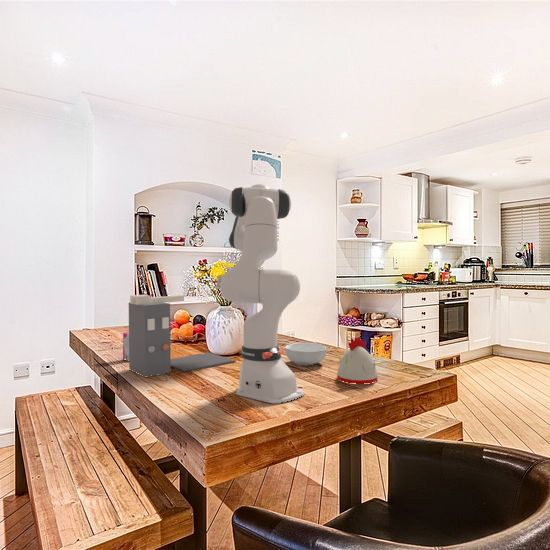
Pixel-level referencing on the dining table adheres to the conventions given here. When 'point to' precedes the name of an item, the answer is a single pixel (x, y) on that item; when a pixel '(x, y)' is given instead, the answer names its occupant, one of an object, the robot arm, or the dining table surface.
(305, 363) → the cereal bowl
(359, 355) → the beanie hat
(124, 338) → the supplement box
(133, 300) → the paddle lever
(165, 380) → the dining table surface
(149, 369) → the switch panel
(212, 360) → the rubber mat
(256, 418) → the dining table surface
